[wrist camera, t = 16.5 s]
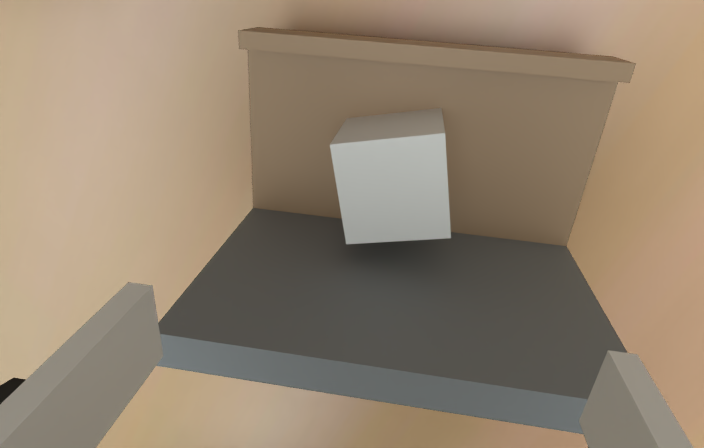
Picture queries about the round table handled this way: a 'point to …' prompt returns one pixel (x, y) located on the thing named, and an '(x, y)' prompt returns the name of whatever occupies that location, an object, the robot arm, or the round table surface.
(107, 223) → the round table surface
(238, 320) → the board
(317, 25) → the round table surface
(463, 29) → the round table surface
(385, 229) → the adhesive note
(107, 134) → the round table surface
